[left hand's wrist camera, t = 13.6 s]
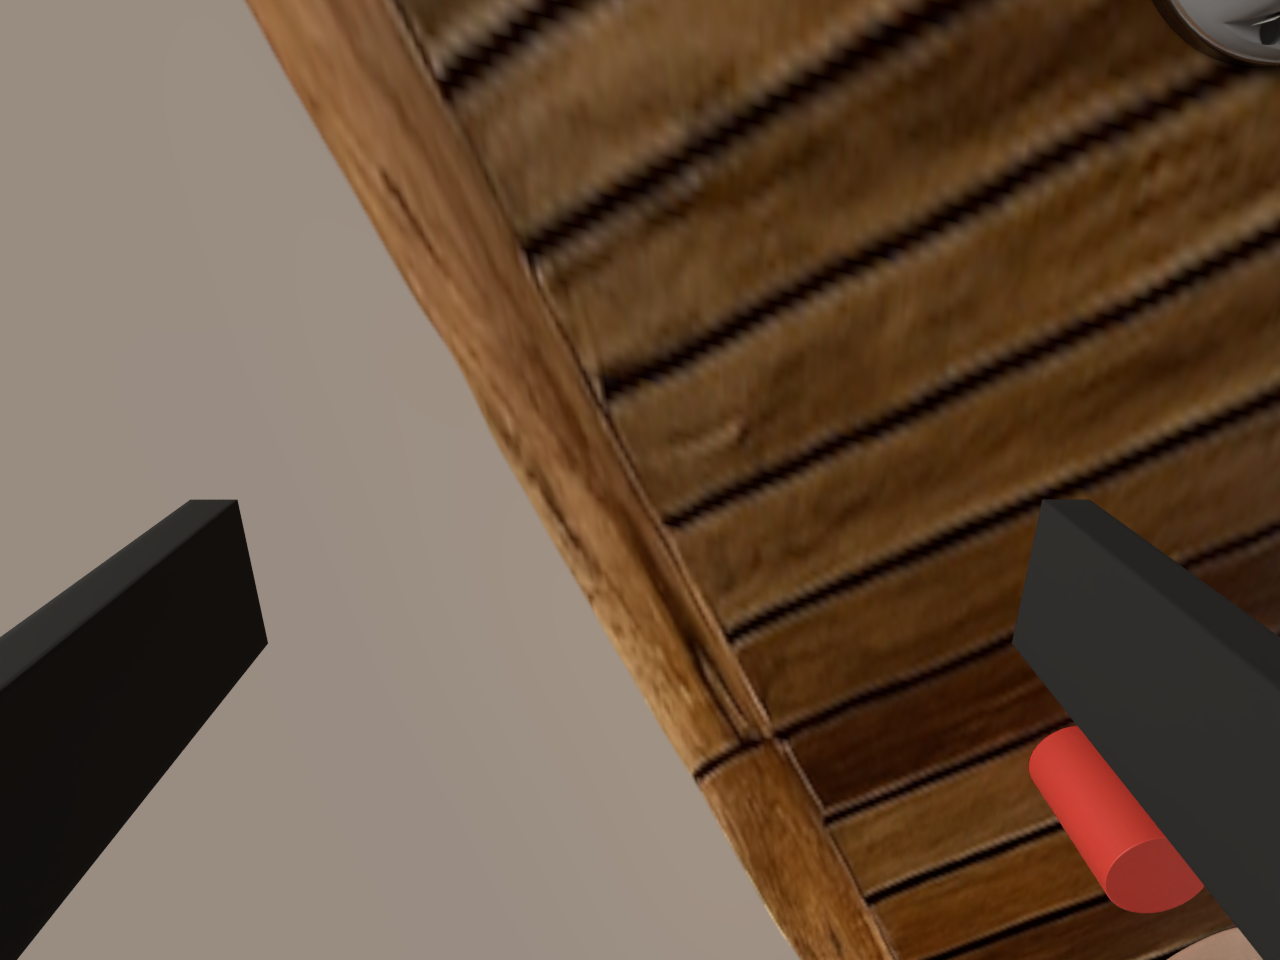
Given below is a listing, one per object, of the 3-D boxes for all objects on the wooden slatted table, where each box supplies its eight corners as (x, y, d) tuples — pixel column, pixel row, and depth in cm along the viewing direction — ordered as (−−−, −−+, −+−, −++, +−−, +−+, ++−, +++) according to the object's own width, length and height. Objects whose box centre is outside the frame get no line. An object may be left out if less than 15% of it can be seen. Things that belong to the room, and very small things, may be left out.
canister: (1081, 710, 50) (1172, 819, 42) (1135, 756, 51) (1233, 872, 43) (1010, 763, 52) (1083, 880, 43) (1064, 807, 53) (1145, 928, 45)
